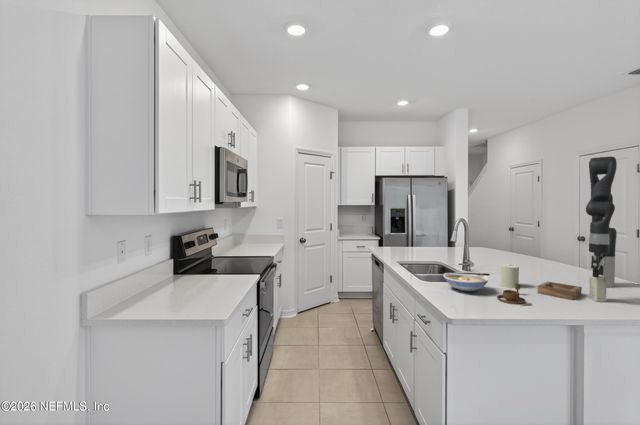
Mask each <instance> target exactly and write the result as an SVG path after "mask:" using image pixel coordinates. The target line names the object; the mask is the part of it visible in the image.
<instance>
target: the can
mask: <svg viewBox="0 0 640 425" xmlns="http://www.w3.org/2000/svg"><path fill="white" fill-rule="evenodd" d="M519 270H520V266H518V265H514V264H508V263H507V264H500V283H499V286H501V287H503V288H508V289H515V284H520V283H519V280H520V279H519V274H520V271H519Z"/></svg>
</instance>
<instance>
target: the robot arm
mask: <svg viewBox="0 0 640 425" xmlns="http://www.w3.org/2000/svg"><path fill="white" fill-rule="evenodd" d="M617 163H618V162H617V159H616V157H615V156H599V157H591V158H590V159H589V162H588V169H589V170H588V171H589V173H588V174H589V181H590V200H589V201H588V203H587V205H585V206H586V207H585V212H586V214H587V215H589V217H591V222H590V225H589V238H588V252H589V253H593V255H591V261H590V262H591V263H590V264H591V265H590V268H591V269H592V274H593V277H597V278H598V277H599V275H602V276H605V277H606V288H614V287H615V276H616V275H615V274H616V272H615V271H616V245H617V236H618V235H617V230H616V228H614V227H610V224H611V220H612V217H613V215H614V213H615V211H616V210H615V209H616V208H615V207H616V206H615V204H614V202H613V201H614V197H613V196H614V195H612V185H613V182H614V180H615V179H614V178H615V175H616V171H617ZM599 175H600V176H601V175H604V176H603V177H602V178H601V179H600V178H599Z"/></svg>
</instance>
